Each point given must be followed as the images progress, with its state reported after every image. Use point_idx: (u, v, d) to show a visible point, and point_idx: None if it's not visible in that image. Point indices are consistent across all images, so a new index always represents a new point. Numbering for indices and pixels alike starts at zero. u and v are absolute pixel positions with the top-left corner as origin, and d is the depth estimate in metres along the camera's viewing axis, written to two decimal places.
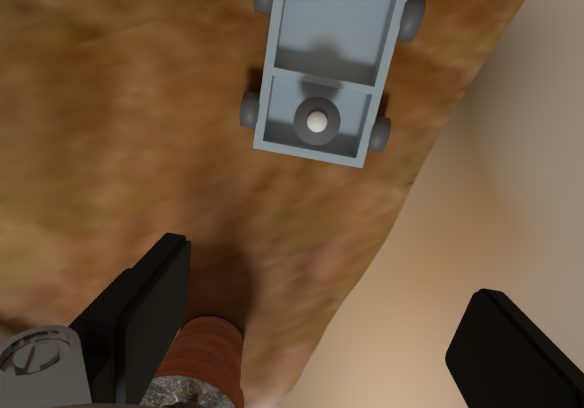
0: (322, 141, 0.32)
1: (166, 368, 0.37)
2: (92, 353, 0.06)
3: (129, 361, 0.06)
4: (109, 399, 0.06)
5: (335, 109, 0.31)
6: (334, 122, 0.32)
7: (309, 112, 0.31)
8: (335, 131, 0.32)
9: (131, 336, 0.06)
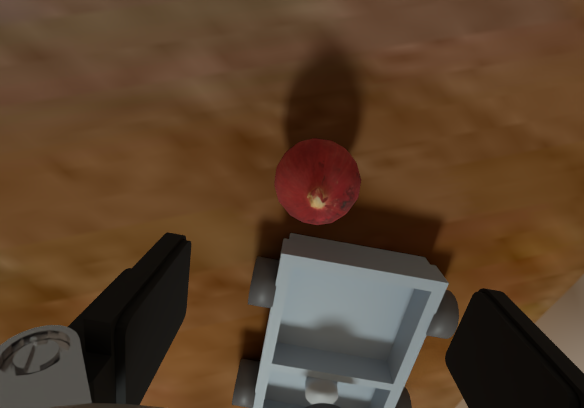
0: None
1: None
2: (92, 353, 0.06)
3: (129, 361, 0.06)
4: (109, 399, 0.06)
5: None
6: None
7: None
8: None
9: (131, 336, 0.06)
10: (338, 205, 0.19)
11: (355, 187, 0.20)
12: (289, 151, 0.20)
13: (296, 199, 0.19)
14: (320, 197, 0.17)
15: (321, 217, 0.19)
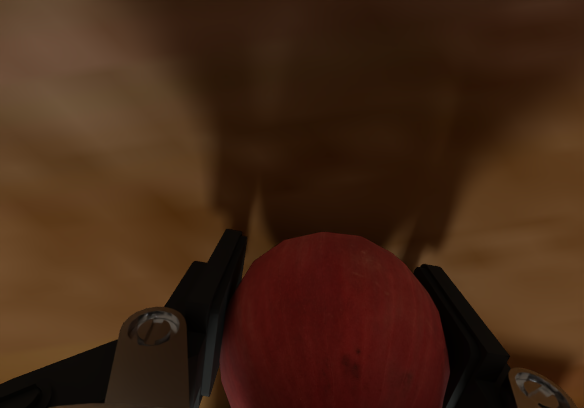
0: None
1: None
2: (190, 331, 0.07)
3: (216, 340, 0.07)
4: (201, 372, 0.07)
5: None
6: None
7: None
8: None
9: (219, 318, 0.07)
10: None
11: (444, 392, 0.07)
12: (255, 279, 0.07)
13: None
14: None
15: None
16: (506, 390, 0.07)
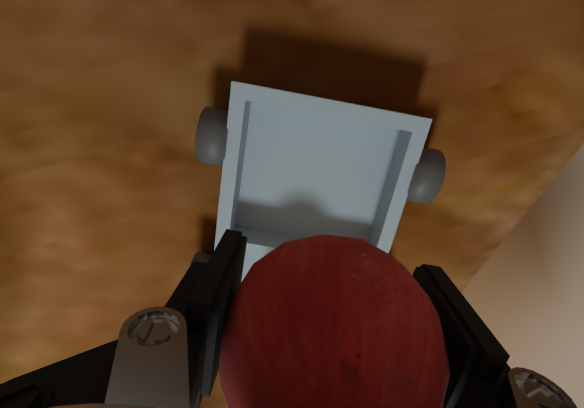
0: None
1: None
2: (190, 331, 0.07)
3: (216, 340, 0.07)
4: (201, 372, 0.07)
5: None
6: None
7: None
8: None
9: (219, 318, 0.07)
10: None
11: (444, 396, 0.07)
12: (255, 282, 0.07)
13: None
14: None
15: None
16: (506, 390, 0.07)
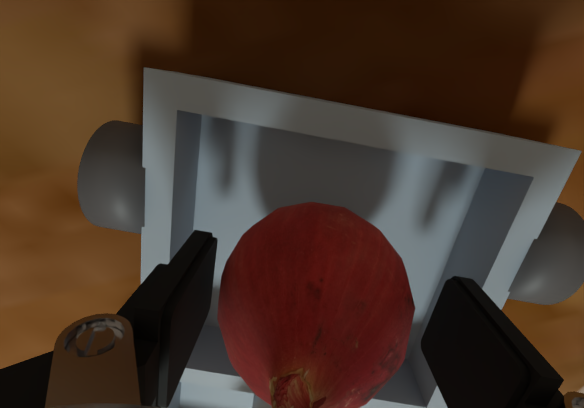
0: None
1: None
2: (141, 340, 0.06)
3: (171, 348, 0.07)
4: (154, 383, 0.07)
5: None
6: None
7: None
8: None
9: (174, 325, 0.07)
10: (358, 400, 0.07)
11: (404, 336, 0.08)
12: (249, 233, 0.09)
13: (247, 371, 0.07)
14: None
15: None
16: None
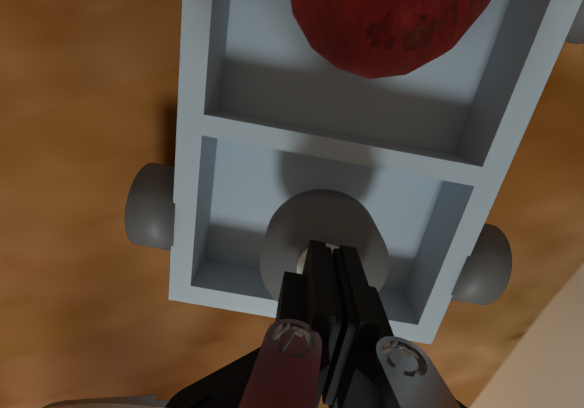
0: None
1: None
2: None
3: None
4: None
5: (375, 238, 0.11)
6: (370, 268, 0.12)
7: (302, 243, 0.11)
8: None
9: None
10: None
11: None
12: None
13: None
14: None
15: (412, 6, 0.07)
16: (372, 356, 0.07)
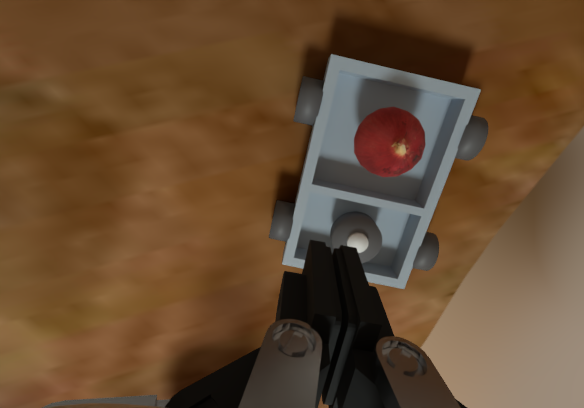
0: (361, 260, 0.31)
1: None
2: None
3: None
4: None
5: (377, 231, 0.30)
6: (375, 243, 0.30)
7: (349, 232, 0.30)
8: (375, 251, 0.30)
9: None
10: (412, 157, 0.24)
11: (423, 147, 0.25)
12: (373, 114, 0.26)
13: (380, 148, 0.24)
14: (405, 145, 0.23)
15: (396, 166, 0.24)
16: (372, 356, 0.07)
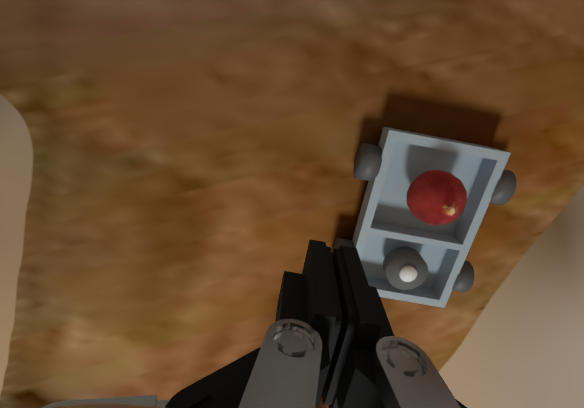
0: (410, 287, 0.37)
1: None
2: None
3: None
4: None
5: (424, 264, 0.36)
6: (422, 273, 0.37)
7: (401, 265, 0.36)
8: (422, 280, 0.37)
9: None
10: (458, 214, 0.31)
11: (465, 203, 0.32)
12: (424, 177, 0.32)
13: (433, 208, 0.31)
14: (455, 208, 0.29)
15: (445, 220, 0.31)
16: (372, 356, 0.07)
